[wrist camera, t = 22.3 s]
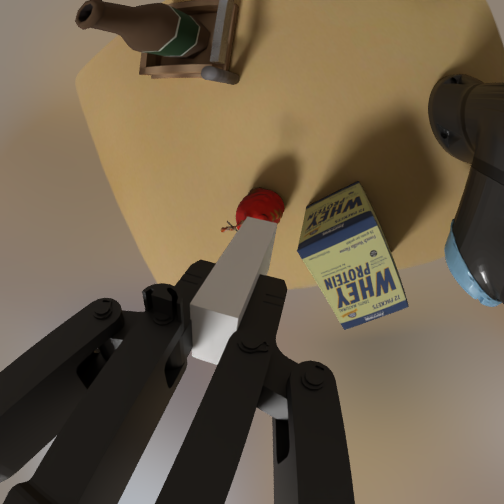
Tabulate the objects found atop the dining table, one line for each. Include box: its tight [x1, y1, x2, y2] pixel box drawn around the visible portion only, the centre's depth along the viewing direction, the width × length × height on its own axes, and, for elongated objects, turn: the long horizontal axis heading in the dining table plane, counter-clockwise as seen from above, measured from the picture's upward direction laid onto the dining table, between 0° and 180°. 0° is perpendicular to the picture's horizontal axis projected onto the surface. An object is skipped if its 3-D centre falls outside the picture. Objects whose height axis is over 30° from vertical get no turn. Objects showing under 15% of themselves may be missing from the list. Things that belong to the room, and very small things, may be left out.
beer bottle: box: [75, 0, 210, 59], centre depth 24 cm, size 8×8×24 cm
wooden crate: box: [139, 0, 239, 85], centre depth 30 cm, size 16×15×10 cm
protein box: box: [297, 181, 408, 330], centre depth 39 cm, size 10×16×16 cm
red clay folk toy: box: [221, 187, 284, 232], centre depth 41 cm, size 8×7×15 cm
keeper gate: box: [210, 0, 234, 64], centre depth 26 cm, size 12×1×4 cm, turn 173°
